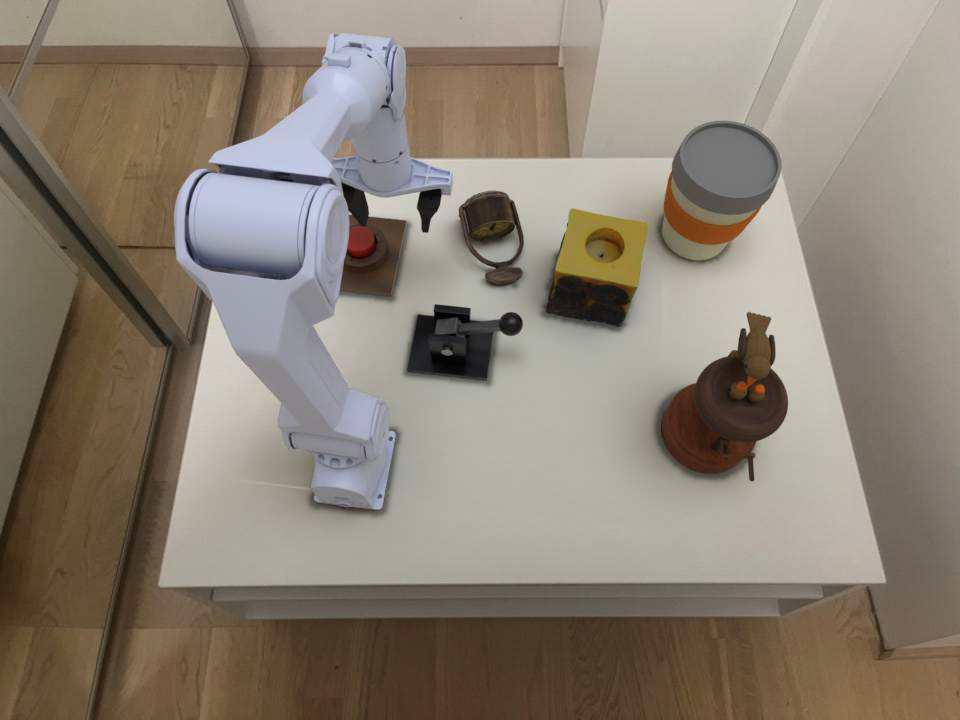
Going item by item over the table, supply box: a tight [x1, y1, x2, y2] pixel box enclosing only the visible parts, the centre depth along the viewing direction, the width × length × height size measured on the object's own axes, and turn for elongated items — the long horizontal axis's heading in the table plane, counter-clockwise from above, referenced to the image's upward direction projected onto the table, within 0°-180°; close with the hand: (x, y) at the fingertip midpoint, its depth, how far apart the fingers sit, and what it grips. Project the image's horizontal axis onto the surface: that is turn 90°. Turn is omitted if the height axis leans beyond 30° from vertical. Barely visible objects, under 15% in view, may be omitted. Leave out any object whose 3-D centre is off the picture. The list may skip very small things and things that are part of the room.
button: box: [347, 226, 376, 258], centre depth 88 cm, size 4×4×2 cm
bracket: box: [407, 303, 494, 382], centre depth 82 cm, size 10×8×7 cm
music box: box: [660, 311, 789, 482], centre depth 71 cm, size 15×11×20 cm
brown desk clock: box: [458, 190, 525, 285], centre depth 89 cm, size 7×13×10 cm
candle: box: [545, 207, 649, 327], centre depth 85 cm, size 10×10×10 cm
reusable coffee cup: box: [661, 120, 783, 261], centre depth 86 cm, size 13×13×15 cm
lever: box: [435, 311, 524, 337], centre depth 79 cm, size 11×3×3 cm, turn 83°
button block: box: [340, 214, 408, 298], centre depth 90 cm, size 12×10×3 cm
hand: (395, 223), depth 81 cm, fingers open, 7 cm apart
